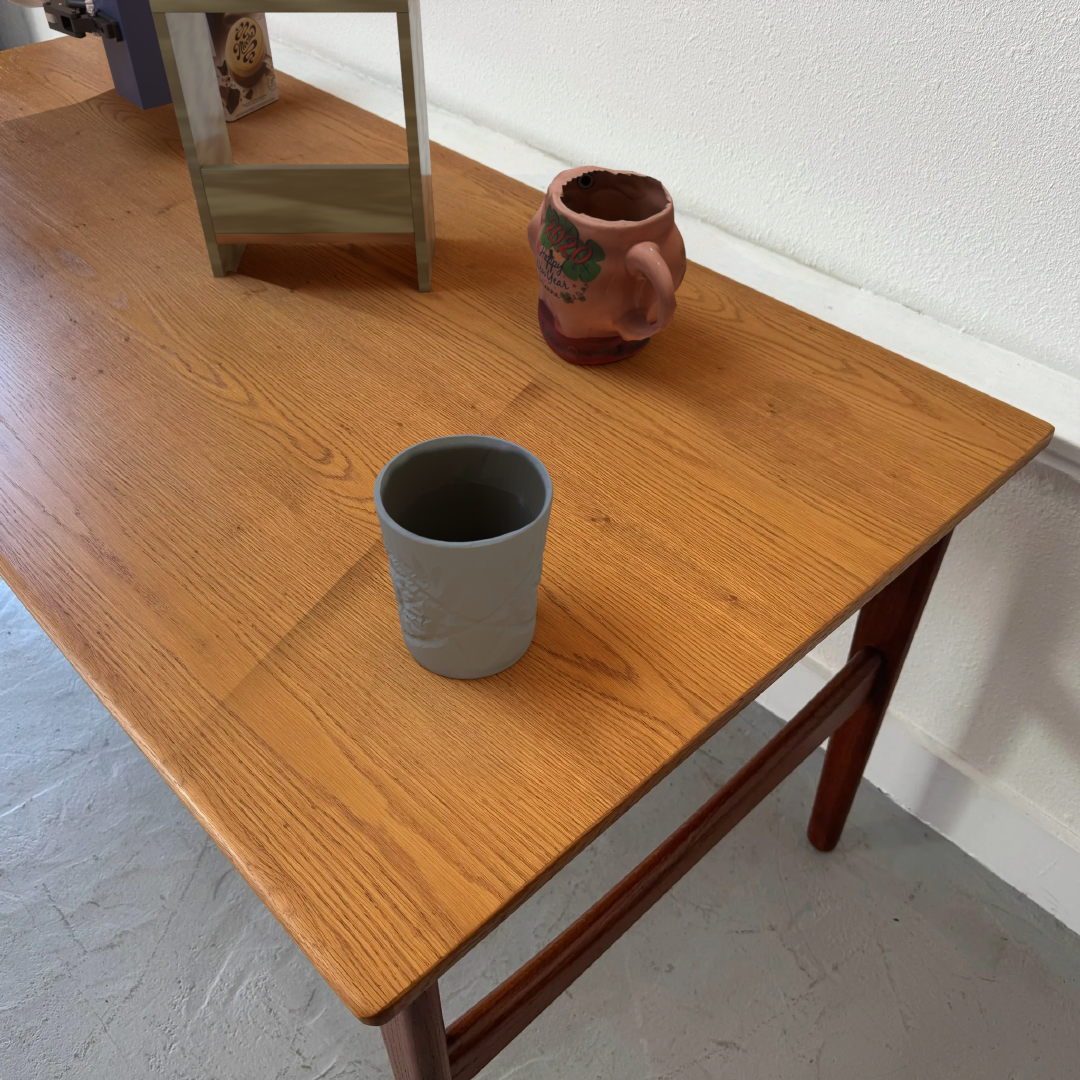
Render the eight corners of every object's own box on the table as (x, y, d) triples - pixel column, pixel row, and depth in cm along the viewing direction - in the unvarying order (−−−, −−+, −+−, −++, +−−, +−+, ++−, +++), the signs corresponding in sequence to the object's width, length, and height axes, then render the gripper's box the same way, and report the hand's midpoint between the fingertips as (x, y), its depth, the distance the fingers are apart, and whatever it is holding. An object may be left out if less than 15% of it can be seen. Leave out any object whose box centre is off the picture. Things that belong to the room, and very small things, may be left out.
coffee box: (232, 123, 127) (204, -22, 115) (193, 113, 129) (162, -30, 118) (281, 99, 132) (258, -41, 121) (243, 89, 135) (217, -49, 124)
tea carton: (143, 110, 114) (108, -30, 104) (116, 92, 118) (80, -45, 108) (189, 98, 116) (159, -39, 107) (160, 81, 120) (129, -53, 111)
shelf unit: (239, 238, 105) (181, -41, 87) (435, 237, 105) (416, -41, 88) (217, 293, 97) (148, -1, 80) (429, 291, 97) (407, -1, 80)
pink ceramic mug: (730, 382, 87) (755, 229, 77) (608, 426, 82) (619, 268, 73) (602, 279, 99) (610, 135, 90) (490, 311, 95) (486, 164, 85)
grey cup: (361, 645, 65) (337, 503, 57) (452, 551, 72) (442, 411, 64) (494, 713, 62) (488, 572, 53) (578, 608, 68) (585, 467, 60)
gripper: (145, 12, 125) (213, 48, 116) (28, 37, 118) (90, 77, 109) (129, -57, 120) (198, -25, 111) (5, -36, 113) (68, 0, 104)
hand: (144, 25), depth 110 cm, fingers closed on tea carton, 5 cm apart
